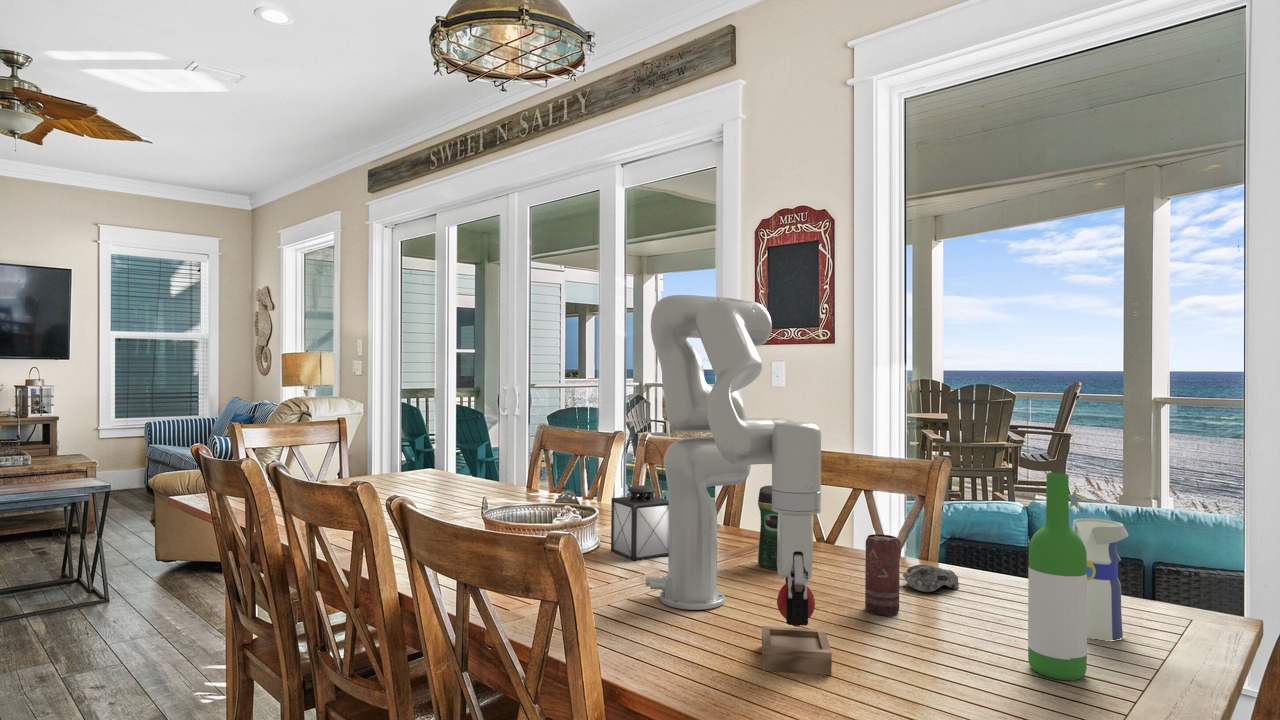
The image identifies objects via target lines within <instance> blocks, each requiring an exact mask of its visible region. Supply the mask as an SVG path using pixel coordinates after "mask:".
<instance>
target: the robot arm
mask: <svg viewBox="0 0 1280 720" xmlns="http://www.w3.org/2000/svg"><path fill="white" fill-rule="evenodd" d="M772 329H773V324H772V318H771V316H770V313H769V311H768V310H767V309H766V307H764V305H762V304H760V302H756V301H748V300H742V299H737V298H733V297H732V298H731V297H725V296H723V297H722V296H710V295H709V296H706V295H694V294H675V295H674V294H673V295H667V296H665V297H662V298H661V299H659V300H658V301H657V302H656V303H655V305H654V307H653V309H652V313H651V316H650V334H651V340H652V343H653V347H654V350H655V353H656V355H657V358H658V361H659V364H660V369H661V379H662V386H663V387H662V388H663V395H664V404H665V412H666V419H667V421H668V424H669V427H671V429H673V430H674V431H676V432H681V433H682V432H683V433H711V435H712V437H696V438H692V437H691V438H689V437H688V438H683V439H679V440H676V441H674V442H672V443H671V444H670V445H669V446H668V447H667V449H666V451H665V453H664V457H663V460H664V461H663V468H664V471H665V472H664V473H665V478H666V485H667V492H668V493H667V494H668V499H667V500H669V551H668V559H667V560H668V561H667V562H668V563H667V564H668V565H667V569H668V570H667V571H668V572H667V574H666V575H661V577H655V576H646V578H645V587H650V590H661V592H660V594H659V600H660V602H661V603H662V604H664V605H666V606H668V607H672V608H675V609H679V610H680V609H681V610H686V611H687V610H689V611H690V610H691V611H703V610H710V609H715V608H718V607H720V606H723V604H724V603H725V601H726V600H725V594H724V592H722V591H721V590H718V588H717V587H718V584H717V583H718V509H717V505H716V503H715V501H714V500H713V498H712V496H711V495H710V493H709V492H708V489H707V488H710V487H719V486H721V487H723V486H734V485H739V484H741V483H743V482H745V481H746V480H747V479H748V477H749V475H750V473H751V466H752V465H753V466H754V465H771V485H772V511H774V512H777V513H778V529H777V569H778V570H777V573H778V574H777V575H778V577H779V578H780V579H782V580H784V578H785V584H786V583H787V582H788V597H786V619H785V620H786V624H787V625H790V626H792V625H800V626H803V627H805V626H808V624H809V618H808V598H807V586H808V580H810V579H811V578H812V574H813V553H814V515H817V514H820V513H821V511H822V431H821V429H820V427H819V426H818V425H817V424H814V423H811V422H805V421H802V422H801V421H794V420H791V419H787V418H777V417H776V418H764V417H762V418H760V417H759V418H746V411H745V407H744V402H743V400H742V398H741V396H740V394H739V392H738V391H739V390H741V389H743V388H746V387H747V386H749V385H750V384H751V383H752V384H753V382H754V381H755V380H757V379H758V377H759V376H760V374H761V373H762V371H763V363H762V359H761V357H760V356H759V353H758V351H757V349H756V347H758V346H762V345H764V344H765V343H766V342H767V341H768V340H769V338H770V337H771V335H772ZM688 338H692V339H700V340H701V343H702V346H703V348H704V350H705V353H706V356H707V358H708V361H709V364H710V365H711V369H712V371H713V374H714V376H715V378H716V380H715V382H714V383H713V384H708V383H707V381H706V378H705V370H704V364H703V360H702V357H701V356H700V355H699V354H698V351H696V349H695V348H694V346H693V345H692V344H691V343H690V342H689V341H688V340H687V339H688ZM794 576H795V577H794ZM792 582H794V584H793V585H792Z"/></svg>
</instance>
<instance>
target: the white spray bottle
mask: <svg viewBox="0 0 1280 720" xmlns="http://www.w3.org/2000/svg"><path fill="white" fill-rule="evenodd" d="M1069 499H1070V503H1069V508H1072V507H1075V508H1076V509H1077V510H1079V508H1080V507H1079V502H1080V501H1081V500H1082V499H1083V498H1082V497H1080V496H1079V495H1078V493H1077V490H1076V489H1074V490H1073V492H1072V494H1070V493H1069ZM1072 522H1073V523H1072V530H1073V531H1074V532H1075V533H1076V534H1077V535H1078V536H1079V537H1080V539H1081V540H1082V542H1083V544H1084V546H1085V549H1086V553H1087V639H1090V638H1091V640H1094V639H1099V640H1098V641H1100V640H1116V639H1120V638H1122V637H1123V638H1124V634H1123V633H1124V632H1123V618H1122V617H1123V616H1122V615H1123V614H1122V586H1121V582H1120V580H1119V562H1121V561H1122V559H1121V557H1120V556H1119V554H1118V550H1117V545H1118V544H1117V543H1118V542H1120V541H1122V540H1124V539H1126V538H1128V537H1129V533H1128V531H1127V530H1126V528H1125V525H1124V524H1123V523H1122V522H1118V521H1114V520H1110V519H1109V520H1108V519H1103V518H1087V517H1086V518H1076V519H1074V520H1073V521H1072Z"/></svg>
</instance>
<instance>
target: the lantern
mask: <svg viewBox="0 0 1280 720" xmlns="http://www.w3.org/2000/svg"><path fill="white" fill-rule="evenodd" d="M637 441H646V442H648V443H651V444H652V445H654V446H655V448H656V449H657V450H658V453H659V455H660V460H661V471H662V473H661V474H662V476H661V478H662V481H661V483H662V485H664V461H663V458H662V453H661V451H660V448H658V446H657V445H656V444H655V443H654V442H652V441H651V440H648V439H635V440H633V441H631V442H629V443H628V444H627V445H626V446H625V447H624V450H623V452H622V454H621V455H622V456H621V460H620V483H621V487H623V458H624V454H625V451H626V449H627V448H628V446H629V445H631V444H632V443H634V442H637ZM662 490H664V487H662ZM627 491H628V492H630V493H629V494H630V495H629V496H621V497H619V496H618V497H611V511H610V512H611V515H610V516H611V517H610V519H611V523H610V525H611V527H610V531H611V532H610V552H611V553H614V554H617V555H618V556H620V557H623V558H625V559H628V560H630V561H631V562H633V561H634V562H637V561H638V560H639V561H645V560H651V559H653V558H654V559H659V558H660V557H661V558H667V557H668V551H669V499H666V498H663V497H662V498H661V497H658V496H654V493H655V492H656V491H657V489H656V488H655V487H653V486H651V485H632V486H630V487H629V488H627Z"/></svg>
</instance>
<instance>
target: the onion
mask: <svg viewBox="0 0 1280 720" xmlns="http://www.w3.org/2000/svg"><path fill="white" fill-rule="evenodd" d="M794 577H795V576H794ZM793 584H794V582H792V585H793ZM786 597H788V582H787V583H786V582H785V584H783V586H782V587H781V588H780V589H779V592H778V593H777V599H776V605H777V609H778V611H779V613H780V614H781V616H782V617H783V618H784V619H785V620H786ZM807 598H808V619H810V618H811V616H812V615H813V614H814V611H815V607H816V601H815V596H814V593H813V592H812V590H811V588H809V586H808V585H807ZM791 626H793V628H799V627H800V626H801V625H791Z"/></svg>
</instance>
